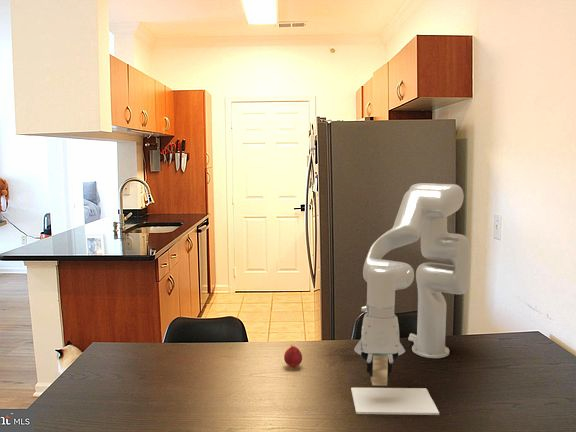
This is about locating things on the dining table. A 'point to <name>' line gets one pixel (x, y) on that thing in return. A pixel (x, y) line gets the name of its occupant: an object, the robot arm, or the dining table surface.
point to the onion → (293, 356)
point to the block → (379, 369)
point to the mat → (393, 401)
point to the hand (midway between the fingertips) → (378, 374)
